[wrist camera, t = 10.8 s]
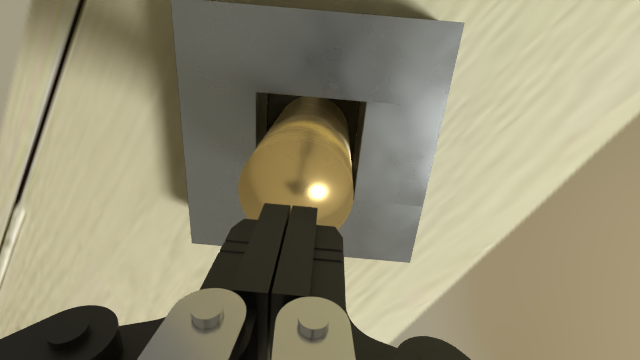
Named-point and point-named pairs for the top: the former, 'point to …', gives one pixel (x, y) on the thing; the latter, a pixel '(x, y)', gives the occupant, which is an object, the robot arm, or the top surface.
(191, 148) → the frame
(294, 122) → the brass cylinder
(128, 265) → the top surface
